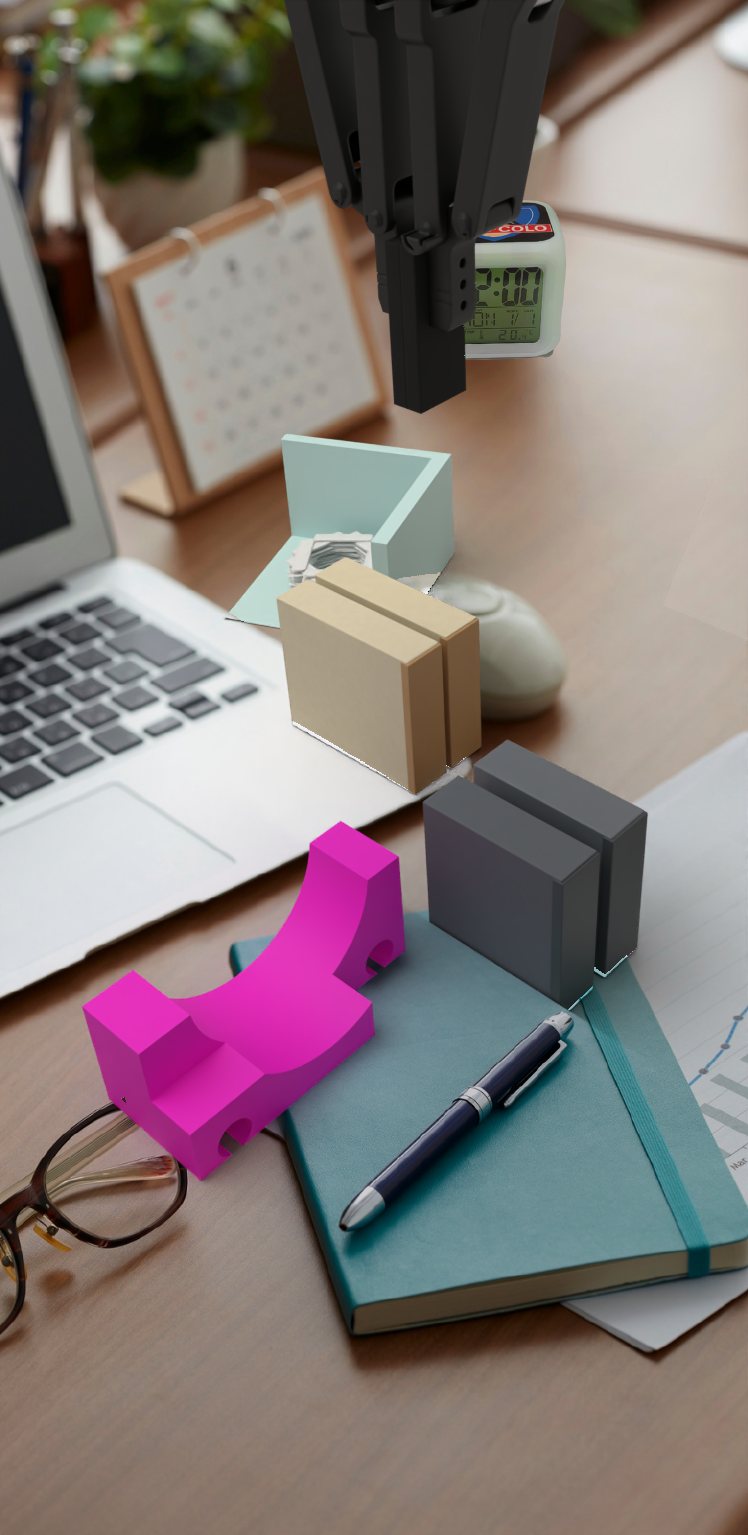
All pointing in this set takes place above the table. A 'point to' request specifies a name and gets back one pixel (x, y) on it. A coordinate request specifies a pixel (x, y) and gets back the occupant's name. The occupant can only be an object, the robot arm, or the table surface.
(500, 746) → the dark gray block
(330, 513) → the right angle wall
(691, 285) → the table surface
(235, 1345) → the table surface
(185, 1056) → the toy block
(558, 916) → the gray rectangular block
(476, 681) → the beige upright slab
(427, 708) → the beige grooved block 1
